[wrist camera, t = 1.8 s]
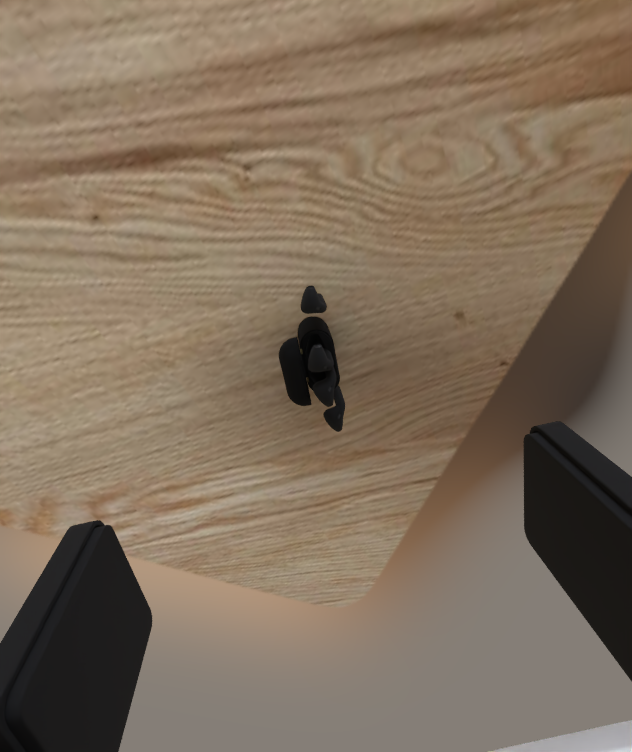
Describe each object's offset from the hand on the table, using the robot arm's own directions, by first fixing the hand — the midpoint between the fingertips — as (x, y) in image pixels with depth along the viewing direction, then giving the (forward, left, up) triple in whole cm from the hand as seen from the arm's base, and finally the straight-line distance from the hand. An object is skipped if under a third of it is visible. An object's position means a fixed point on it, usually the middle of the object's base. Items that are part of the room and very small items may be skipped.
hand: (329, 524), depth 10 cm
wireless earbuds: (0, 0, -14) cm, 14 cm away
